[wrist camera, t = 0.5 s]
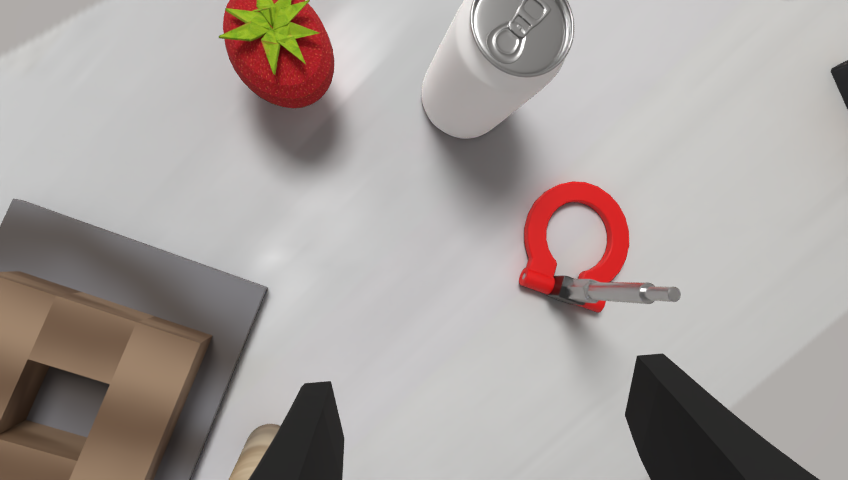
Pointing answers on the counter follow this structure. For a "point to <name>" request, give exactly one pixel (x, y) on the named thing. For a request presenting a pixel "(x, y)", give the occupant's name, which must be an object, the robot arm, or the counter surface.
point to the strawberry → (279, 50)
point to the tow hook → (595, 281)
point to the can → (494, 62)
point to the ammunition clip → (842, 79)
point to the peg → (254, 451)
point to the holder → (110, 351)
